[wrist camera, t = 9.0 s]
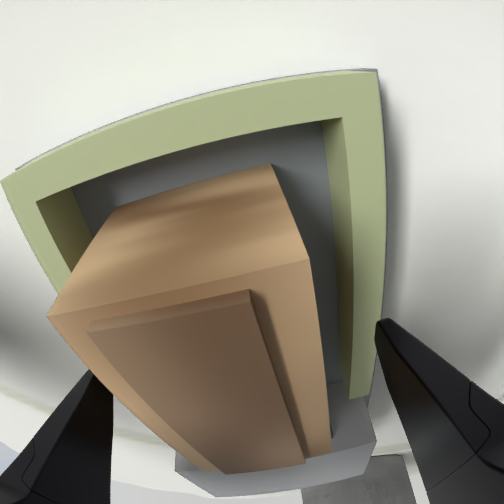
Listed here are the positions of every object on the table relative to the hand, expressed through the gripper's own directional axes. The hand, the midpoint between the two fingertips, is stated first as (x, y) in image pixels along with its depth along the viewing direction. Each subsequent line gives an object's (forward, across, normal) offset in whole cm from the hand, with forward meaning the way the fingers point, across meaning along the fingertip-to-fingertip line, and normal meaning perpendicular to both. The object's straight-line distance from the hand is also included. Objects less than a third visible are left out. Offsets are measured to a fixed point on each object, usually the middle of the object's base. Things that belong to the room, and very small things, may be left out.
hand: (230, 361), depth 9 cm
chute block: (+3, 0, 0) cm, 3 cm away
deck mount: (+4, 0, +4) cm, 6 cm away
